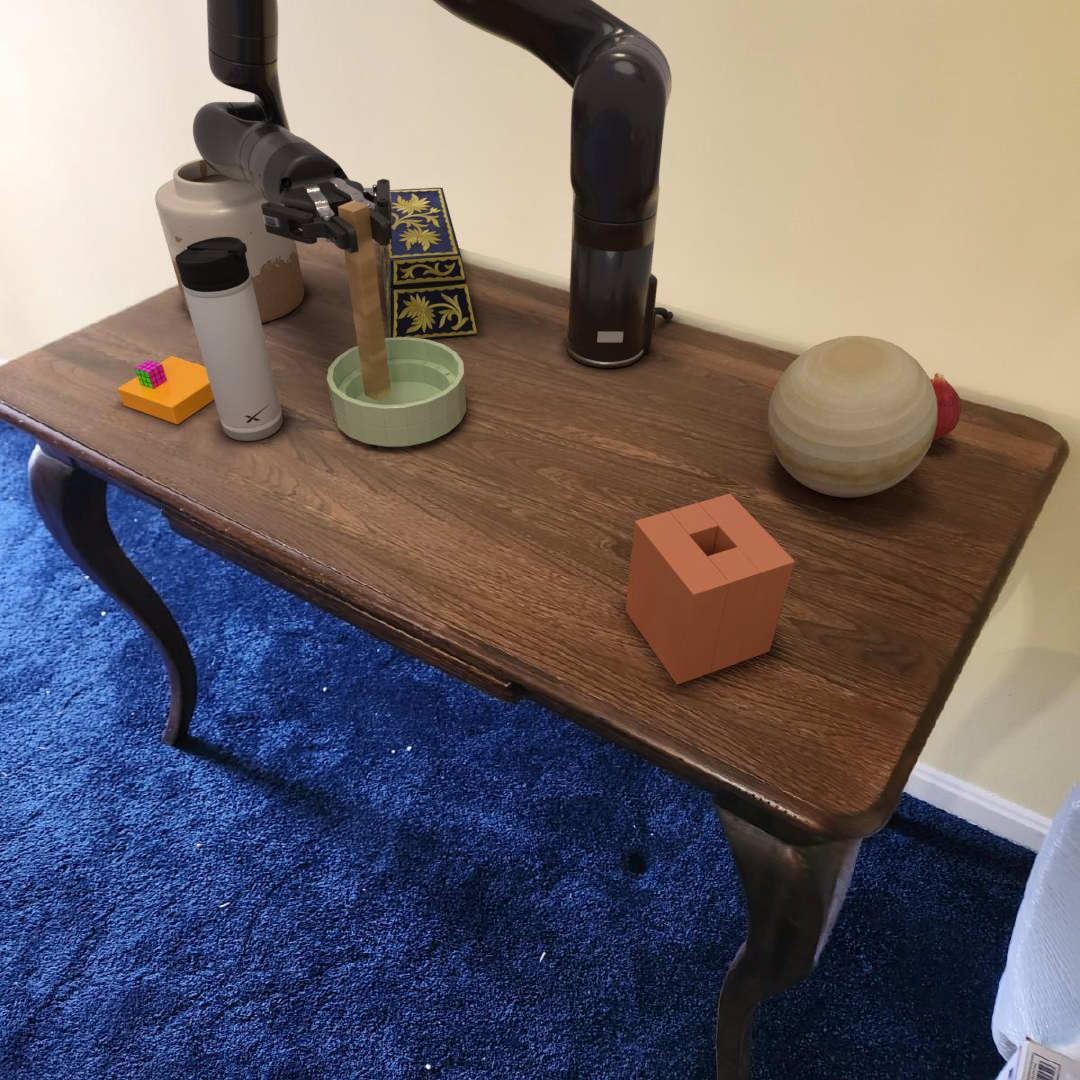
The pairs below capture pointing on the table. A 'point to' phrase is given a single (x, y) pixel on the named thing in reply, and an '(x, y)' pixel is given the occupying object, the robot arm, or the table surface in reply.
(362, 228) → the long square wooden peg
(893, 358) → the decorative ball
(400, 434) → the bowl
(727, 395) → the table surface
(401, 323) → the decorative box
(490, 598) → the table surface
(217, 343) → the travel mug
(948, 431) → the onion
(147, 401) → the orange flat block
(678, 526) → the stick holder
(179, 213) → the vase
